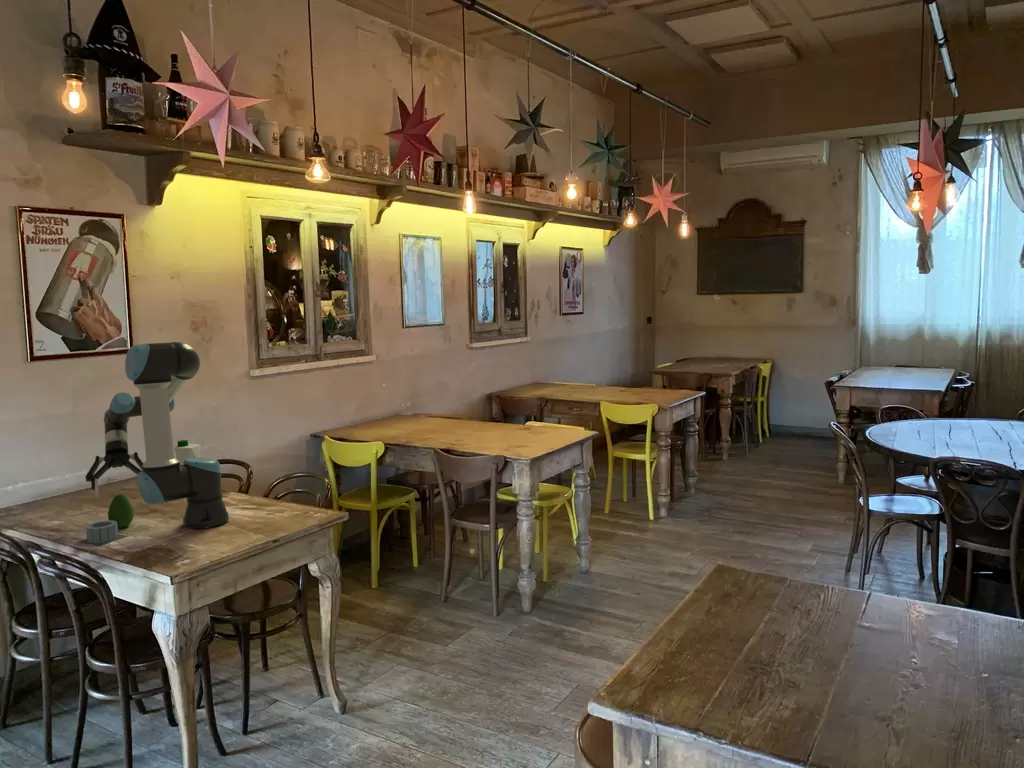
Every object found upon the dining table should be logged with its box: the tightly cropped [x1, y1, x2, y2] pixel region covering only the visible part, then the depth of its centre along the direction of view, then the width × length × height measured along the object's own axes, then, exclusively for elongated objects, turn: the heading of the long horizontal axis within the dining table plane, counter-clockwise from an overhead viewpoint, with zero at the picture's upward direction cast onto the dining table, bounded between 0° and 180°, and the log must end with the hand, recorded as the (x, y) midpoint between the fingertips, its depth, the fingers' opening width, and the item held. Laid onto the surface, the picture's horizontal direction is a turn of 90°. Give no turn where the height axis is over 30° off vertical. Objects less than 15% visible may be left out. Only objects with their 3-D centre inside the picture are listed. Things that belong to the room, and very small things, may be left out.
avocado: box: [107, 493, 135, 529], centre depth 260 cm, size 8×8×12 cm
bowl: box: [85, 519, 119, 544], centre depth 247 cm, size 9×9×5 cm
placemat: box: [76, 533, 129, 547], centre depth 247 cm, size 11×11×1 cm
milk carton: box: [173, 439, 202, 465], centre depth 313 cm, size 9×9×20 cm
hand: (118, 493), depth 265 cm, fingers open, 13 cm apart
